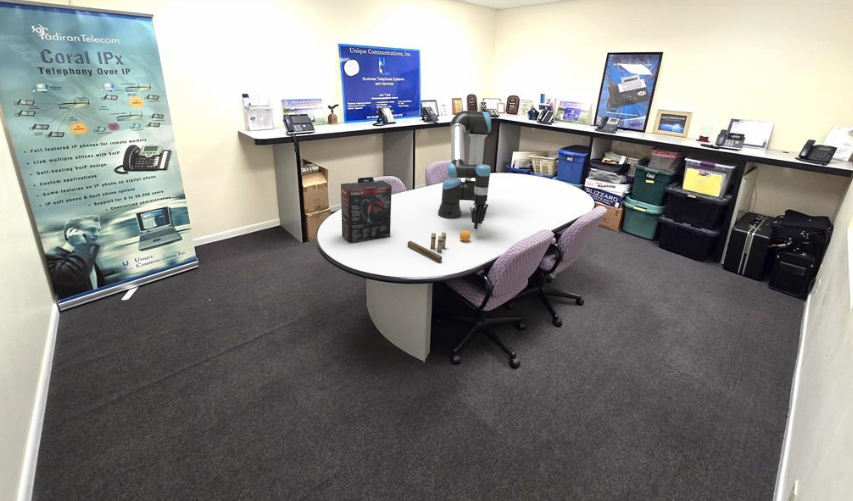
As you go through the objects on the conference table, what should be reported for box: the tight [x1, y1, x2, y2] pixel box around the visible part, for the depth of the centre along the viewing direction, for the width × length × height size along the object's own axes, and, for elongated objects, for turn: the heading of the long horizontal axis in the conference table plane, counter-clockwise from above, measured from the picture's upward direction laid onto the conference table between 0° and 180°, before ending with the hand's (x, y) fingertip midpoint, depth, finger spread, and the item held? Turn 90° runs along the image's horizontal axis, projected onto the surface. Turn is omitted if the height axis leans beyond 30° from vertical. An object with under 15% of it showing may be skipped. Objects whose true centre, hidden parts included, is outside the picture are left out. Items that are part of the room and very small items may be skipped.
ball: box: [459, 229, 472, 242], centre depth 229 cm, size 6×6×6 cm
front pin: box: [440, 231, 447, 250], centre depth 218 cm, size 2×2×8 cm
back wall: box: [407, 240, 443, 264], centre depth 211 cm, size 2×24×3 cm, turn 42°
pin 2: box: [436, 235, 443, 254], centre depth 213 cm, size 2×2×8 cm
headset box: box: [340, 176, 393, 244], centre depth 222 cm, size 25×12×33 cm, turn 120°
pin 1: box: [430, 232, 437, 250], centre depth 216 cm, size 2×2×8 cm
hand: (476, 233), depth 235 cm, fingers closed
